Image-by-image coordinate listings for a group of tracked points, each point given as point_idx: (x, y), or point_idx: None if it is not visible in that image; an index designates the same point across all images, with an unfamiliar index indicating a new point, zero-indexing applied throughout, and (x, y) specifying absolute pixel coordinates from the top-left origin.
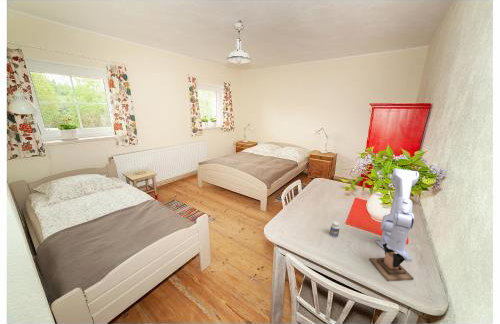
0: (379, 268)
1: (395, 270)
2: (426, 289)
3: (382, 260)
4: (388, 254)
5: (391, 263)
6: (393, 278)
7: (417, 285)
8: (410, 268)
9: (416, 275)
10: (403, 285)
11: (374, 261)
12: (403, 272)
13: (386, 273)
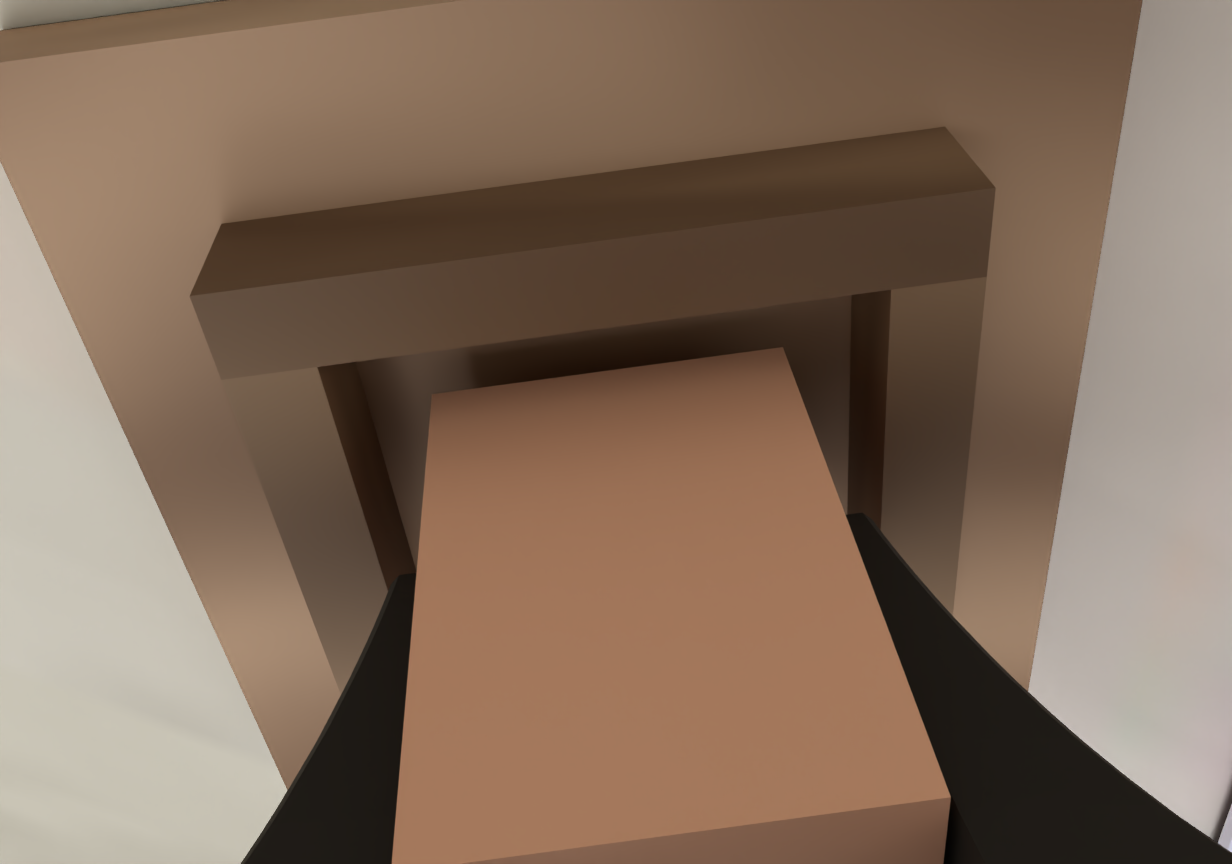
0: (534, 32)
1: (351, 542)
2: (70, 831)
3: (880, 366)
4: (756, 823)
5: (423, 603)
6: (73, 298)
7: (139, 741)
8: None
9: None
10: (3, 453)
11: (937, 35)
12: None
13: (282, 175)
